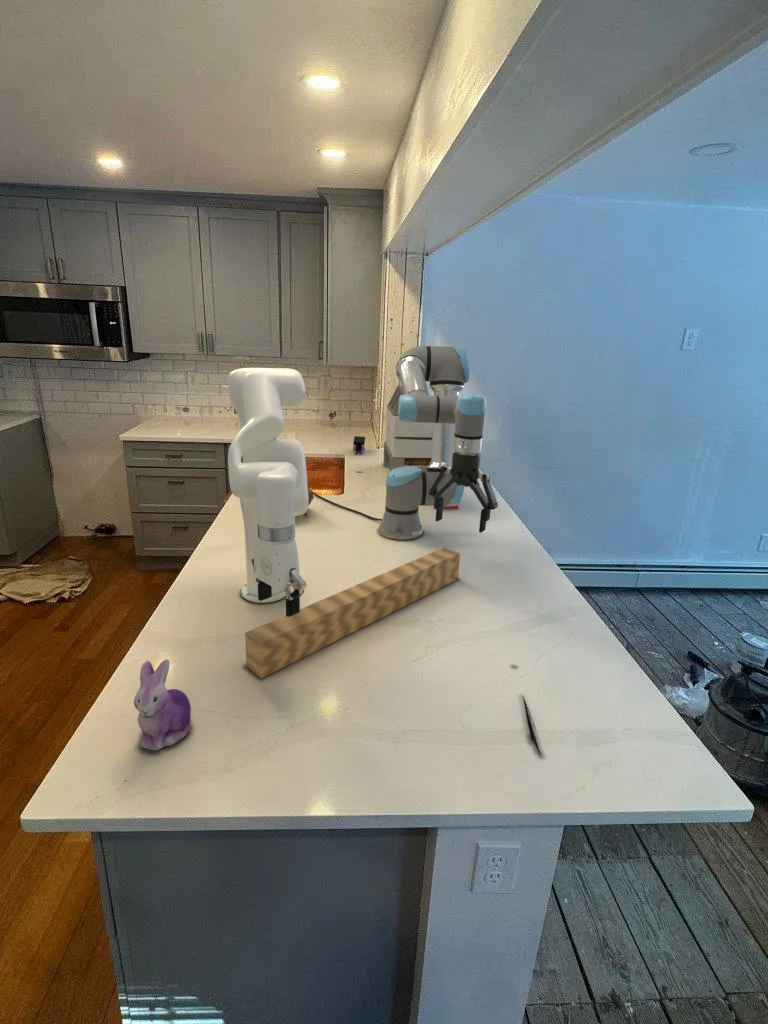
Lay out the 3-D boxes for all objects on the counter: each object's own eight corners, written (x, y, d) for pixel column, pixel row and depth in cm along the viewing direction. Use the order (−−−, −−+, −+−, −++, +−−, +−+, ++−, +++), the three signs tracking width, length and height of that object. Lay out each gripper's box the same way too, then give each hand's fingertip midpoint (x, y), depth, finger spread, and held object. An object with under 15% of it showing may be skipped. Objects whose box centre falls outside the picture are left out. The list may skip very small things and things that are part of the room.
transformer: (382, 463, 289) (386, 382, 275) (445, 464, 293) (451, 384, 279) (390, 482, 257) (394, 392, 243) (460, 483, 261) (468, 394, 247)
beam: (442, 572, 172) (444, 547, 169) (457, 579, 168) (460, 552, 165) (246, 666, 123) (244, 632, 121) (261, 678, 120) (260, 643, 117)
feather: (514, 670, 128) (520, 664, 128) (540, 759, 101) (547, 752, 101) (508, 666, 128) (514, 660, 127) (532, 755, 101) (539, 747, 101)
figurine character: (364, 457, 303) (365, 448, 317) (365, 444, 300) (365, 435, 313) (352, 457, 303) (353, 447, 316) (352, 444, 300) (353, 434, 313)
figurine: (141, 761, 97) (132, 687, 92) (135, 723, 105) (126, 654, 100) (198, 744, 101) (192, 673, 96) (188, 709, 110) (182, 642, 104)
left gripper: (236, 524, 119) (240, 598, 124) (288, 547, 107) (289, 627, 113) (266, 516, 124) (269, 588, 129) (318, 538, 113) (318, 614, 118)
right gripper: (420, 447, 157) (415, 519, 164) (505, 463, 144) (495, 539, 152) (432, 442, 163) (427, 512, 170) (515, 457, 150) (506, 531, 158)
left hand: (278, 606), depth 121 cm, fingers open, 9 cm apart
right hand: (459, 525), depth 161 cm, fingers open, 13 cm apart
